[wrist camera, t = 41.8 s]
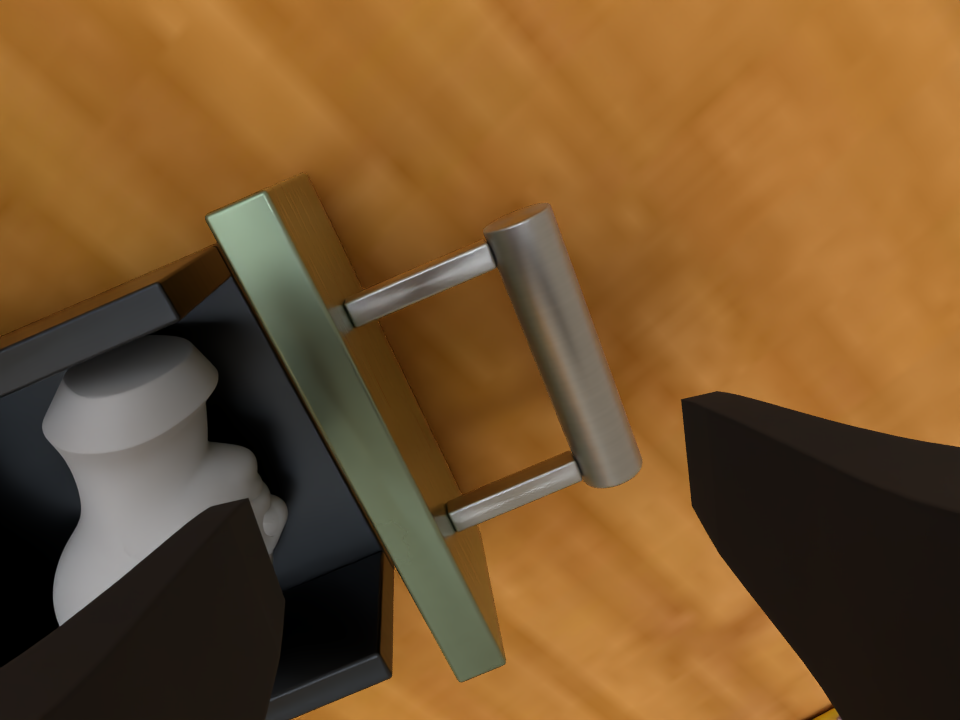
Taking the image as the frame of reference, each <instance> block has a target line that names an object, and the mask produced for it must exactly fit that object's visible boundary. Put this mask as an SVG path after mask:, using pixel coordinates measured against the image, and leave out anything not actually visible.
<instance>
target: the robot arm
mask: <svg viewBox="0 0 960 720" xmlns="http://www.w3.org/2000/svg"><path fill="white" fill-rule="evenodd" d="M681 402H682V412H683V422H684V432H685V442H686V452H687V462H688V472H689V481H690V491H691V501H692V507H693V509H694V510H695V512H696V514H697V516H698V518H699V519H700V521H701V523H702V525H703V527H704V529H705V530H706V532H707V534H708V536H709V537H710V539H711V541H712V542H713V544H714V546H715V547H716V549H717V551H718V552H719V554H720V555H721V557H722V558H723V559H724V561H725V562H726V563H727V565H728V566H729V567H730V569H731V570H732V571H733V573H734V574H735V575H736V576H737V578H738V579H739V580H740V582H741V583H742V584H743V586H744V587H745V588H746V589H747V591H748V592H749V593H750V595H751V596H752V597H753V598H754V600H755V601H756V602H757V604H758V605H759V606H760V607H761V609H762V610H763V611H764V612H765V614H766V615H767V616H768V618H769V619H770V620H771V621H772V623H773V624H774V625H775V627H776V628H777V629H778V630H779V632H780V633H781V634H782V635H783V637H784V638H785V639H786V641H787V642H788V643H789V644H790V646H791V647H792V648H793V650H794V651H795V652H796V653H797V655H798V656H799V657H800V658H801V660H802V661H803V662H804V664H805V665H806V667H807V668H808V669H809V671H810V672H811V674H812V675H813V676H814V678H815V679H816V680H817V682H818V683H819V685H820V686H821V687H822V689H823V690H824V692H825V694H826V695H827V697H828V698H829V700H830V702H831V703H832V705H833V706H834V708H835V709H836V711H837V713H838V714H839V716H840V717H841V719H842V720H960V447H955V446H949V445H943V444H936V443H930V442H924V441H919V440H914V439H908V438H903V437H898V436H894V435H889V434H885V433H880V432H876V431H872V430H867V429H863V428H858V427H854V426H850V425H846V424H842V423H839V422H835V421H831V420H827V419H823V418H820V417H816V416H812V415H809V414H805V413H802V412H798V411H794V410H791V409H787V408H784V407H780V406H777V405H773V404H770V403H766V402H763V401H759V400H755V399H752V398H748V397H744V396H740V395H736V394H731V393H726V392H719V391H716V392H712V393H707V394H703V395H699V396H694V397H690V398H685V399H681ZM284 611H285V598H284V596H283V593H282V590H281V587H280V585H279V582H278V579H277V576H276V573H275V571H274V568H273V565H272V562H271V559H270V557H269V554H268V551H267V548H266V545H265V543H264V540H263V537H262V534H261V531H260V529H259V526H258V523H257V520H256V517H255V515H254V512H253V509H252V506H251V503H250V501H249V498H245V499H241V500H236V501H232V502H227V503H223V504H219V505H214V506H211V507H209V508H207V509H206V510H204V511H203V512H201V513H200V514H198V515H197V516H196V517H194V518H193V519H192V520H190V521H189V522H188V523H186V524H185V525H184V526H183V527H181V528H180V529H179V530H178V531H177V532H175V533H174V534H173V535H172V536H171V537H169V538H168V539H167V540H166V541H165V542H163V543H162V544H161V545H160V546H159V547H157V548H156V549H155V550H154V551H153V552H152V553H150V554H149V555H148V556H147V557H146V558H144V559H143V560H142V561H141V562H140V563H138V564H137V565H136V566H135V567H134V568H132V569H131V570H130V571H129V572H128V573H126V574H125V575H124V576H123V577H122V578H121V579H119V580H118V581H117V582H116V583H114V584H113V585H112V586H111V587H109V588H108V589H107V590H105V591H104V592H103V593H102V594H100V595H99V596H98V597H97V598H95V599H94V600H93V601H91V602H90V603H89V604H88V605H86V606H85V607H84V608H83V609H81V610H80V611H79V612H77V613H76V614H75V615H74V616H72V617H71V618H70V619H69V620H67V621H66V622H65V623H63V624H62V625H61V626H60V627H58V628H57V629H56V630H54V631H53V632H51V633H50V634H49V635H47V636H46V637H45V638H43V639H42V640H40V641H39V642H38V643H36V644H35V645H33V646H32V647H31V648H29V649H28V650H26V651H25V652H24V653H22V654H21V655H19V656H18V657H16V658H15V659H13V660H12V661H10V662H9V663H7V664H6V665H4V666H3V667H1V668H0V720H265V719H266V714H267V710H268V706H269V702H270V698H271V694H272V690H273V685H274V681H275V677H276V673H277V668H278V664H279V659H280V652H281V643H282V635H283V623H284Z"/></svg>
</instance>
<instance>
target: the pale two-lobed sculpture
mask: <svg viewBox="0 0 960 720" xmlns="http://www.w3.org/2000/svg"><path fill="white" fill-rule="evenodd" d="M217 382H218V371H217V369H216V368H215V367H214V366H213V365H212V363H211V362H210V361H209V360H208V359H207V358H206V357H205V356H204V355H203V354H202V353H201V352H200V351H199V350H198V349H197V348H196V347H195V346H194V345H193V344H192V343H191V342H190V341H188V340H187V339H184V338H181V337H176V336H167V335H146V336H144V337H142V338H139V339H137V340H135V341H132V342H130V343H128V344H125V345H123V346H121V347H118V348H116V349H114V350H111V351H109V352H107V353H104V354H102V355H100V356H97V357H95V358H93V359H90V360H88V361H86V362H83V363H81V364H79V365H76V366H74V367H72V368H70V369H68V370H67V372H66V373H65V375H64V377H63V379H62V381H61V383H60V385H59V387H58V389H57V391H56V394H55V396H54V398H53V400H52V402H51V404H50V406H49V408H48V410H47V413H46V415H45V417H44V419H43V423H42V430H43V433H44V435H45V437H46V438H47V440H48V441H49V442H50V443H51V444H52V445H53V446H54V447H55V449H56V450H57V451H58V452H59V453H60V454H61V456H62V457H63V458H64V460H65V461H66V463H67V465H68V466H69V468H70V470H71V472H72V474H73V477H74V479H75V482H76V484H77V488H78V491H79V495H80V501H81V516H80V520H79V522H78V525H77V527H76V528H75V530H74V532H73V534H72V535H71V537H70V539H69V540H68V542H67V544H66V546H65V548H64V550H63V552H62V555H61V557H60V560H59V562H58V566H57V569H56V573H55V578H54V585H53V604H54V610H55V614H56V618H57V621H58V623H59V626H61V625H62V624H63V623H65V622H66V621H67V620H69V619H70V618H71V617H72V616H74V615H75V614H76V613H77V612H79V611H80V610H81V609H83V608H84V607H85V606H86V605H88V604H89V603H90V602H91V601H93V600H94V599H95V598H97V597H98V596H99V595H100V594H102V593H103V592H104V591H105V590H107V589H108V588H109V587H111V586H112V585H113V584H114V583H116V582H117V581H118V580H119V579H121V578H122V577H123V576H124V575H125V574H126V573H128V572H129V571H130V570H131V569H132V568H134V567H135V566H136V565H137V564H138V563H140V562H141V561H142V560H143V559H144V558H146V557H147V556H148V555H149V554H150V553H152V552H153V551H154V550H155V549H156V548H157V547H159V546H160V545H161V544H162V543H163V542H165V541H166V540H167V539H168V538H169V537H171V536H172V535H173V534H174V533H175V532H177V531H178V530H179V529H180V528H181V527H183V526H184V525H185V524H186V523H188V522H189V521H190V520H192V519H193V518H194V517H196V516H197V515H198V514H200V513H201V512H203V511H204V510H206V509H207V508H209V507H211V506H214V505H219V504H223V503H227V502H232V501H236V500H241V499H245V498H249V501H250V503H251V506H252V509H253V512H254V515H255V517H256V520H257V523H258V526H259V529H260V531H261V534H262V537H263V540H264V543H265V545H266V548H267V551H268V554H269V557H270V559H271V562H272V565H273V550H274V548H275V546H276V544H277V542H278V540H279V537H280V535H281V532H282V530H283V528H284V526H285V524H286V521H287V517H288V509H287V506H286V504H285V502H284V501H283V500H282V499H281V498H279V497H278V496H275V495H272V494H270V491H269V488H268V486H267V485H266V484H265V483H264V482H263V481H262V479H261V477H260V475H259V474H258V473H257V460H256V457H255V455H254V454H253V453H252V451H250V450H249V449H247V448H245V447H242V446H239V445H233V444H226V443H218V442H210V441H208V426H207V412H206V400H207V399H208V398H209V396H210V395H211V394H212V392H213V391H214V389H215V387H216V385H217Z"/></svg>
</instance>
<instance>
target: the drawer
mask: <svg viewBox="0 0 960 720" xmlns="http://www.w3.org/2000/svg"><path fill="white" fill-rule="evenodd" d="M205 221H206V223H207V224H208V226H209V228H210V230H211V232H212V233H213V235H214V237H215V239H216V241H217V243H216V244H214V245H211V246H209V247H207V248H205V249H202V250H200V251H198V252H195V253H193V254H191V255H188V256H186V257H184V258H181V259H179V260H177V261H174V262H172V263H170V264H168V265H165V266H163V267H161V268H158V269H156V270H154V271H151V272H149V273H147V274H144V275H142V276H140V277H138V278H135V279H133V280H131V281H128V282H126V283H124V284H121V285H119V286H117V287H114V288H112V289H110V290H108V291H105V292H103V293H101V294H98V295H96V296H94V297H91V298H89V299H87V300H84V301H82V302H80V303H77V304H75V305H73V306H71V307H68V308H66V309H64V310H61V311H59V312H57V313H54V314H52V315H50V316H47V317H45V318H43V319H41V320H38V321H36V322H34V323H31V324H29V325H27V326H24V327H22V328H20V329H17V330H15V331H13V332H11V333H8V334H6V335H4V336H1V337H0V668H1V667H3V666H4V665H6V664H7V663H9V662H10V661H12V660H13V659H15V658H16V657H18V656H19V655H21V654H22V653H24V652H25V651H26V650H28V649H29V648H31V647H32V646H33V645H35V644H36V643H38V642H39V641H40V640H42V639H43V638H45V637H46V636H47V635H49V634H50V633H51V632H53V631H54V630H56V629H57V628H58V627H60V626H59V623H58V621H57V618H56V614H55V610H54V604H53V585H54V578H55V573H56V569H57V566H58V562H59V560H60V557H61V555H62V552H63V550H64V548H65V546H66V544H67V542H68V540H69V539H70V537H71V535H72V534H73V532H74V530H75V528H76V527H77V525H78V522H79V520H80V516H81V501H80V495H79V491H78V488H77V484H76V482H75V479H74V477H73V474H72V472H71V470H70V468H69V466H68V465H67V463H66V461H65V460H64V458H63V457H62V456H61V454H60V453H59V452H58V451H57V450H56V449H55V447H54V446H53V445H52V444H51V443H50V442H49V441H48V440H47V438H46V437H45V435H44V433H43V430H42V423H43V419H44V417H45V415H46V413H47V410H48V408H49V406H50V404H51V402H52V400H53V398H54V396H55V394H56V391H57V389H58V387H59V385H60V383H61V381H62V379H63V377H64V375H65V373H66V372H67V370H68V369H70V368H72V367H74V366H76V365H79V364H81V363H83V362H86V361H88V360H90V359H93V358H95V357H97V356H100V355H102V354H104V353H107V352H109V351H111V350H114V349H116V348H118V347H121V346H123V345H125V344H128V343H130V342H132V341H135V340H137V339H139V338H142V337H144V336H146V335H167V336H176V337H181V338H184V339H187V340H188V341H190V342H191V343H192V344H193V345H194V346H195V347H196V348H197V349H198V350H199V351H200V352H201V353H202V354H203V355H204V356H205V357H206V358H207V359H208V360H209V361H210V362H211V363H212V365H213V366H214V367H215V368H216V369H217V371H218V382H217V385H216V387H215V389H214V391H213V392H212V394H211V395H210V396H209V398H208V399H207V400H206V412H207V426H208V441H210V442H218V443H226V444H233V445H239V446H242V447H245V448H247V449H249V450H250V451H252V453H253V454H254V455H255V457H256V460H257V473H258V474H259V475H260V477H261V479H262V481H263V482H264V483H265V484H266V485H267V486H268V488H269V491H270V494H272V495H275V496H278V497H279V498H281V499H282V500H283V501H284V502H285V504H286V506H287V509H288V517H287V521H286V524H285V526H284V528H283V530H282V532H281V535H280V537H279V540H278V542H277V544H276V546H275V548H274V550H273V568H274V571H275V573H276V576H277V579H278V582H279V585H280V587H281V590H282V593H283V596H284V598H285V611H284V623H283V635H282V643H281V652H280V659H279V664H278V668H277V673H276V677H275V681H274V685H273V690H272V694H271V698H270V702H269V706H268V710H267V714H266V719H265V720H291V719H293V718H295V717H298V716H300V715H303V714H305V713H308V712H310V711H312V710H315V709H317V708H320V707H322V706H325V705H327V704H329V703H332V702H334V701H337V700H339V699H341V698H344V697H346V696H349V695H351V694H354V693H356V692H358V691H361V690H363V689H366V688H368V687H371V686H373V685H375V684H378V683H380V682H383V681H385V680H387V679H390V678H391V677H392V659H393V594H394V565H395V567H396V569H397V571H398V572H399V574H400V576H401V578H402V580H403V582H404V583H405V585H406V587H407V589H408V591H409V593H410V594H411V596H412V598H413V600H414V602H415V603H416V605H417V607H418V609H419V611H420V613H421V614H422V616H423V618H424V620H425V622H426V624H427V625H428V627H429V629H430V631H431V633H432V634H433V636H434V638H435V640H436V642H437V644H438V645H439V647H440V649H441V651H442V653H443V655H444V656H445V658H446V660H447V662H448V664H449V665H450V667H451V669H452V671H453V673H454V675H455V676H456V678H457V680H458V681H459V682H464V681H467V680H469V679H472V678H474V677H476V676H479V675H481V674H484V673H486V672H489V671H491V670H493V669H496V668H498V667H501V666H503V665H504V664H505V663H506V658H505V653H504V648H503V643H502V638H501V633H500V628H499V623H498V618H497V613H496V608H495V603H494V598H493V593H492V588H491V583H490V578H489V573H488V568H487V563H486V558H485V553H484V548H483V543H482V538H481V533H480V531H479V529H478V527H477V524H479V523H482V522H484V521H487V520H489V519H491V518H494V517H496V516H499V515H501V514H503V513H506V512H508V511H511V510H513V509H515V508H518V507H520V506H523V505H525V504H527V503H530V502H532V501H535V500H537V499H539V498H542V497H544V496H547V495H549V494H551V493H554V492H556V491H558V490H561V489H563V488H566V487H568V486H570V485H573V484H575V483H578V482H580V481H582V479H583V481H584V482H585V483H586V484H587V485H589V486H591V487H594V488H610V487H614V486H618V485H620V484H623V483H625V482H627V481H629V480H630V479H632V478H633V477H634V476H635V475H636V474H637V473H638V472H639V471H640V469H641V467H642V457H641V454H640V451H639V448H638V446H637V443H636V440H635V437H634V435H633V432H632V429H631V426H630V424H629V421H628V418H627V415H626V413H625V410H624V407H623V404H622V401H621V399H620V396H619V393H618V390H617V388H616V385H615V382H614V379H613V377H612V374H611V371H610V368H609V365H608V363H607V360H606V357H605V354H604V352H603V349H602V346H601V343H600V341H599V338H598V335H597V332H596V329H595V327H594V324H593V321H592V318H591V316H590V313H589V310H588V307H587V305H586V302H585V299H584V296H583V293H582V291H581V288H580V285H579V282H578V280H577V277H576V274H575V271H574V269H573V266H572V263H571V260H570V258H569V255H568V252H567V249H566V246H565V244H564V241H563V238H562V235H561V233H560V230H559V227H558V224H557V222H556V219H555V216H554V213H553V210H552V208H551V205H550V204H549V203H539V204H534V205H530V206H527V207H524V208H521V209H519V210H516V211H513V212H511V213H509V214H507V215H504V216H502V217H500V218H498V219H497V220H495V221H493V222H492V223H490V224H489V225H487V226H486V227H485V228H484V230H483V233H484V236H485V238H486V241H487V242H486V241H485V240H484V239H481V240H479V241H477V242H474V243H472V244H470V245H467V246H465V247H463V248H460V249H458V250H456V251H453V252H451V253H449V254H446V255H444V256H442V257H439V258H437V259H435V260H432V261H430V262H428V263H425V264H423V265H421V266H418V267H416V268H414V269H411V270H409V271H407V272H404V273H402V274H400V275H397V276H395V277H393V278H390V279H388V280H386V281H383V282H381V283H379V284H376V285H374V286H372V287H369V288H367V289H365V290H363V288H362V286H361V284H360V282H359V280H358V278H357V276H356V274H355V272H354V270H353V268H352V266H351V264H350V262H349V259H348V257H347V255H346V253H345V251H344V249H343V247H342V245H341V243H340V241H339V239H338V237H337V235H336V233H335V230H334V228H333V226H332V224H331V222H330V220H329V218H328V216H327V214H326V212H325V210H324V208H323V206H322V203H321V201H320V199H319V197H318V195H317V193H316V191H315V189H314V187H313V185H312V183H311V181H310V179H309V177H308V175H307V174H306V173H300V174H298V175H296V176H293V177H291V178H289V179H286V180H284V181H282V182H279V183H277V184H275V185H272V186H270V187H268V188H265V189H263V190H261V191H258V192H256V193H254V194H251V195H249V196H247V197H244V198H242V199H240V200H238V201H235V202H233V203H231V204H228V205H226V206H224V207H221V208H219V209H217V210H215V211H212V212H210V213H208V214H207V215H206V216H205ZM496 267H497V268H498V271H499V273H500V276H501V278H502V280H503V283H504V285H505V288H506V290H507V293H508V295H509V298H510V300H511V303H512V305H513V308H514V310H515V313H516V315H517V318H518V320H519V323H520V325H521V328H522V330H523V333H524V335H525V338H526V340H527V343H528V345H529V347H530V350H531V352H532V355H533V357H534V360H535V362H536V365H537V367H538V370H539V372H540V375H541V377H542V380H543V382H544V385H545V387H546V390H547V392H548V395H549V397H550V400H551V402H552V405H553V407H554V410H555V412H556V415H557V417H558V419H559V422H560V424H561V427H562V429H563V432H564V434H565V437H566V439H567V442H568V444H569V447H570V449H571V452H572V453H571V452H570V451H566V452H564V453H562V454H559V455H557V456H554V457H552V458H550V459H547V460H545V461H543V462H540V463H538V464H535V465H533V466H531V467H528V468H526V469H523V470H521V471H519V472H516V473H514V474H511V475H509V476H507V477H504V478H502V479H500V480H497V481H495V482H492V483H490V484H488V485H485V486H483V487H480V488H478V489H476V490H473V491H471V492H469V493H466V494H464V495H462V494H461V492H460V490H459V488H458V486H457V483H456V481H455V479H454V477H453V475H452V473H451V471H450V469H449V467H448V465H447V463H446V461H445V459H444V456H443V454H442V452H441V450H440V448H439V446H438V444H437V442H436V440H435V438H434V436H433V434H432V432H431V430H430V427H429V425H428V423H427V421H426V419H425V417H424V415H423V413H422V411H421V409H420V407H419V405H418V403H417V400H416V398H415V396H414V394H413V392H412V390H411V388H410V386H409V384H408V382H407V380H406V378H405V376H404V374H403V371H402V369H401V367H400V365H399V363H398V361H397V359H396V357H395V355H394V353H393V351H392V349H391V347H390V344H389V342H388V340H387V338H386V336H385V334H384V332H383V330H382V328H381V326H380V324H379V322H378V320H377V319H379V318H382V317H384V316H386V315H389V314H391V313H393V312H396V311H398V310H400V309H403V308H405V307H407V306H410V305H412V304H414V303H417V302H419V301H421V300H424V299H426V298H428V297H431V296H433V295H436V294H438V293H440V292H443V291H445V290H447V289H450V288H452V287H454V286H457V285H459V284H461V283H464V282H466V281H468V280H471V279H473V278H475V277H478V276H480V275H482V274H485V273H487V272H489V271H492V270H494V269H495V268H496ZM572 454H573V455H572Z"/></svg>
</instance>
